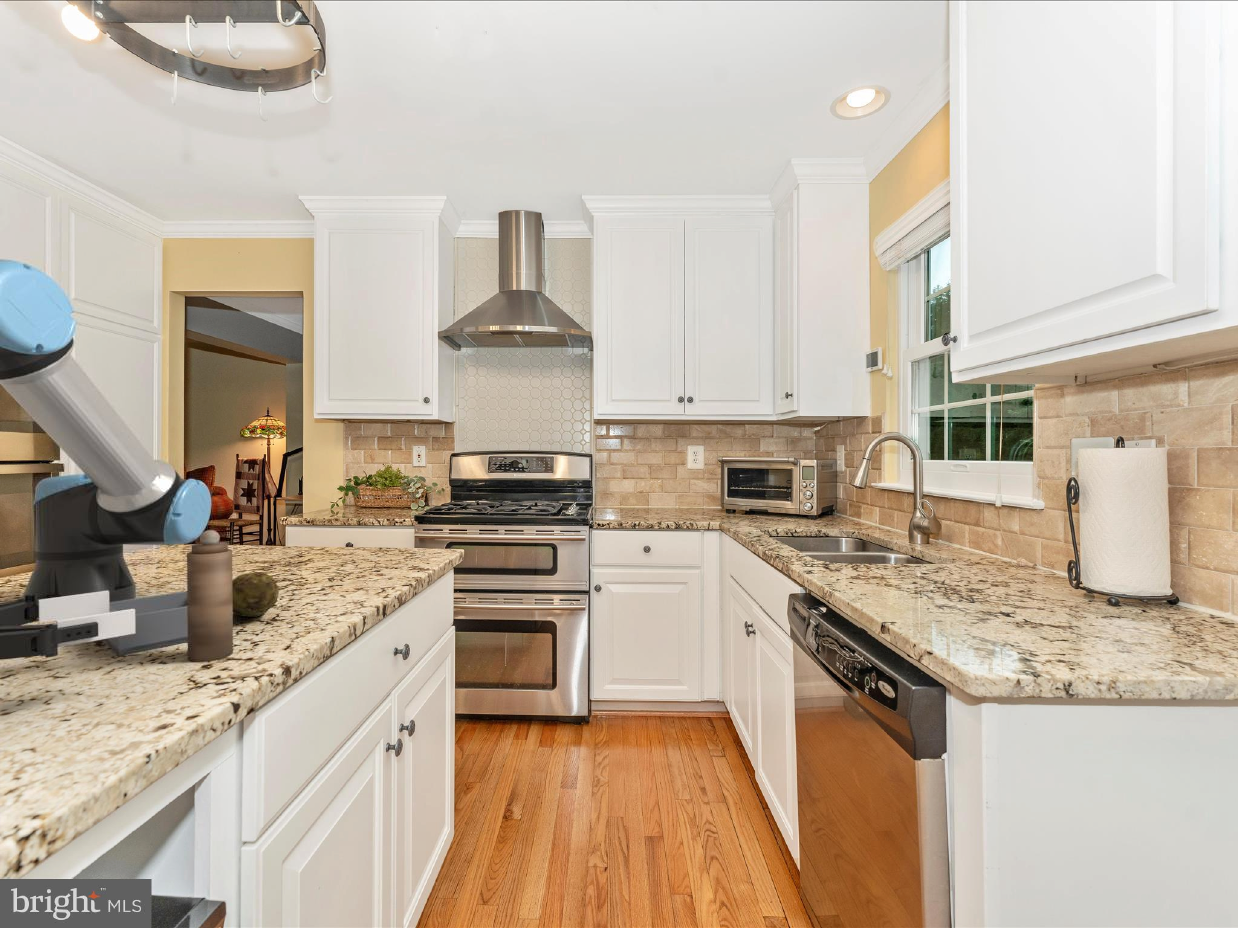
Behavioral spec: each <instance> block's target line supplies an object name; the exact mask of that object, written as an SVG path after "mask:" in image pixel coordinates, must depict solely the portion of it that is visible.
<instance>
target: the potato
mask: <svg viewBox="0 0 1238 928" xmlns="http://www.w3.org/2000/svg"><path fill="white" fill-rule="evenodd" d="M279 591H280V590H279V587H278V584H277V582H276V581H275V580H274V578H273V577H272V576H271V575H269V574H267V573H265V572H260V571H259V572H247V573H242V574H240V575H237V576H236V577H234V579H232V593H233V614H236V615H238V616H240V617H246V618H247V617H248V618H253V617H260V616H263V615H264V614H266V613H267V612H268V611H269V610H270V609H271V608H272V607H273V606H274V605H275V604H276V603H277V602H278V598H279Z"/></svg>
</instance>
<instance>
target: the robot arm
mask: <svg viewBox="0 0 1238 928" xmlns="http://www.w3.org/2000/svg"><path fill="white" fill-rule="evenodd" d="M74 312H75V310H74V307H73V305H72V302H71V301H70V298H69V297H68V295H67V294H66V292H65V291H64V290H63V289H62V287H61V286H60V285H59V284H58V283H57V282H56V281H55V280H54V279H53V278H52V277H50V276H49V275H47V274H46V273H45V272H44V271H42V270H40V269H38V268H37V267H35V266H32V265H29V264H27V263H23V262H20V261H17V260H12V259H1V258H0V385H1V386H2V388H3V389H4V390H6V392H7V393H8V394H9V395H10V396H11V397H12V398H13V399H14V400H15V401H16V402H17V403H18V405H19V406H20V407H21V408H23V410H24V411H25V413H27V414H28V415H29V416H30V417H31V418H32V420H34V421H35V423H37V424H38V425H39V427H40V428H41V429H42V430H43V431H44V432H45V433H46V435H48V436H49V437H50V438H51V439H52V440H53V442H55V444H56V445H57V446H58V447H59V448H60V449H61V450H62V451H63V452H64V453H65V455H67V456H68V457H69V459H71V461H72V462H73V463H74V464H75V465H76V466H77V467H78V468H79V469H80V470H81V471H82V473H77V474H68V475H60V476H58V475H57V476H52V477H47V478H43V479H41V480H40V481H39V482H38V483H36V486H35V493H34V500H33V503H32V504H33V516H34V541H35V542H34V543H35V546H34V547H35V564H34V565H35V566H34V568H33V570H32V572H31V575H30V578H29V579H28V583H27V585H26V587H25V588H24V591H23V593H22V594H23V595H22V597H21V598H18V599H15V600H9V601H5V602H0V661H2V660H13V659H23V658H30V657H31V658H34V657H45V659H46V658H53V657H56V656H58V653H59V652H58V651H59V650H58V649H59V648H62V647H67V646H74V645H79V644H83V643H84V644H85V643H90V642H95V641H100V640H102V639H107V638H112V637H118V636H123V635H129V634H134V633H135V609H128V610H122V611H115V612H109V602H115V601H122V600H128V599H135V598H136V597H137V589H136V588H137V586H136V583H135V581H134V578H133V576H132V574H131V572H130V569H129V567H128V565H127V564H128V563H127V562H126V559H125V557H124V545H128V546H129V545H133V546H134V545H139V546H142V545H144V546H148V545H149V546H173V545H186V544H189V543H192V542H194V541H195V540H196V539H197V540H198V539H199V538H200V536H201V534H202V533H203V532H205V529H206V527H207V525H208V522H209V520H210V516H211V511H212V509H211V508H212V497H211V492H210V490H209V488H208V486H207V485H206V484H205V483H204V482H203V481H202V480H198V479H195V478H188V479H184V478H182V477H181V476H180V474H179V473H178V472H177V471H176V469H175V468H174V467H173V466H172V464H170V463H168V462H166V461H165V460H161V459H154V458H153V456H152V455H151V454H150V452H149V451H148V450H147V449H146V447H145V446H144V445H143V444H142V442H141V441H140V440H139V439H138V438H137V436H136V435H135V433H133V431H132V430H131V428H130V427H129V426H128V425H127V424H126V422H125V421H124V420H123V419H122V417H121V416H120V415H119V413H118V412H117V411H116V410H115V409H114V407H113V406H112V405H111V403H110V402H109V401H108V400H107V398H106V397H105V396H104V394H103V393H102V392H101V391H100V389H99V388H98V386H96V385H95V383H94V382H93V381H92V380H91V378H90V377H89V376H88V375H87V373H86V372H85V371H84V369H83V368H82V367H81V366H80V363H78V361H77V360H76V359H75V358H74V357H73V355H72V352H73V349H74V348H75V343H76V342H75V338H74V335H75V332H76V325H77V320H76V319H75V318H74V317H73V316H72V315H71V314H72V313H74ZM108 612H109V613H108ZM102 613H103V614H102ZM37 621H38V624H31V623H34V622H37ZM55 621H56V623H50V622H55ZM43 623H48V624H43Z"/></svg>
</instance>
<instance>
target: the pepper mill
mask: <svg viewBox="0 0 1238 928" xmlns="http://www.w3.org/2000/svg"><path fill="white" fill-rule="evenodd" d="M220 538H221V536H220V534H219V532H217V531H216V530H213V529H208V530H204V531H203V532H202V534H201V535H200V536H199V542H200V543H195V544H191V551H189V552H186V583H187V584H186V586H187V587H186V591H187V621H188V642H187V661H189V662H191V663H205V662H211V661H212V662H213V661H217V660H218V661H219V660H221V659H224V658H228V657H229V656H231V655H233V653H234V626H233V625H234V624H233V623H234V622H233V621H234V620H233V619H234V618H233V616H234V615H233V614H234V613H233V593H232V580H233V550H232V548H231V549H230V548H228V547H229V542H224V541H220Z"/></svg>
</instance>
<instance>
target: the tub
mask: <svg viewBox="0 0 1238 928" xmlns="http://www.w3.org/2000/svg"><path fill="white" fill-rule="evenodd" d="M128 609H135V633H134V634H129V635H123V636H118V637H112V638H107V639H101V640H102V641H103V643H105V644H106V645H107V646H108V647H109V648H110V649H111V650H112V651H113V652H114V653H115V654H116V655H117V656H119V657H120V656H125V655H130V654H131V655H132V654H134V653H139V652H145V651H149V650H150V651H151V650H153V649H160V648H164V647H169V646H174V645H179V644H183V643H184V644H185V643H188V621H187V590H184V591H178V592H177V591H176V592H171V593H164V594H157V595H151V596H143V597H137V598H136V597H135V598H133V599H128V600H122V601H115V602H109V612H115V611H122V610H128ZM109 612H108V613H109ZM102 614H103V613H102Z"/></svg>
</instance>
